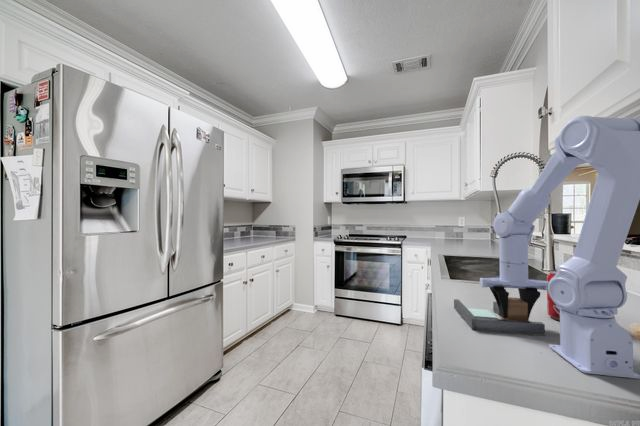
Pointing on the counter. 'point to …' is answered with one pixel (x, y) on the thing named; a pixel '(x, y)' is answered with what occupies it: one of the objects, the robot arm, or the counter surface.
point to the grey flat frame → (498, 322)
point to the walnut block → (516, 310)
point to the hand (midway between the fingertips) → (514, 317)
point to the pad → (482, 313)
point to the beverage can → (551, 306)
